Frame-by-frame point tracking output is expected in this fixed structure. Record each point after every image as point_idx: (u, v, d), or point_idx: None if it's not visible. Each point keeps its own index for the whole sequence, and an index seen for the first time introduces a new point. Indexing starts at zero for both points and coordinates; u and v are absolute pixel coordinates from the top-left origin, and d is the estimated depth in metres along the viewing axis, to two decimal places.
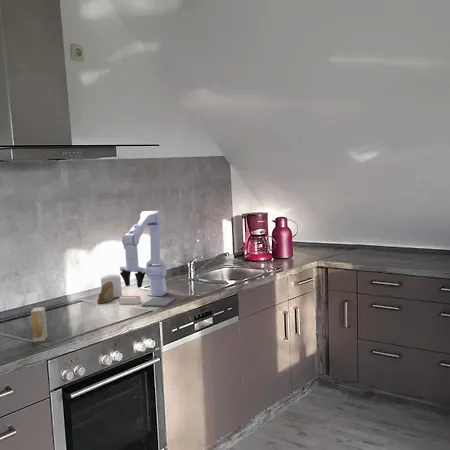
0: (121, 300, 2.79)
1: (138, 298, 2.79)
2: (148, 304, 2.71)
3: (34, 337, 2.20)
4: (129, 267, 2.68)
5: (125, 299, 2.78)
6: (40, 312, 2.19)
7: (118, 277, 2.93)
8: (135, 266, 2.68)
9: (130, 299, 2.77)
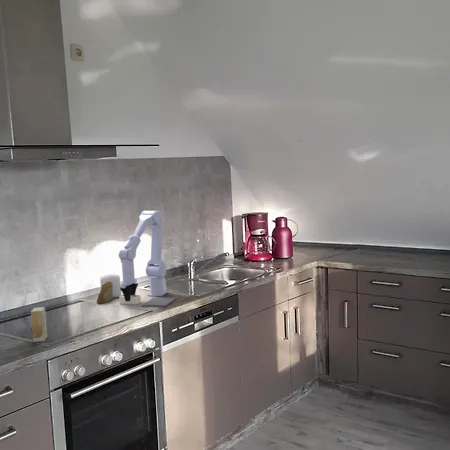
0: (120, 300, 2.79)
1: (138, 298, 2.79)
2: (148, 304, 2.71)
3: (34, 337, 2.20)
4: None
5: None
6: (40, 312, 2.19)
7: (117, 277, 2.93)
8: (125, 280, 2.77)
9: (130, 299, 2.77)
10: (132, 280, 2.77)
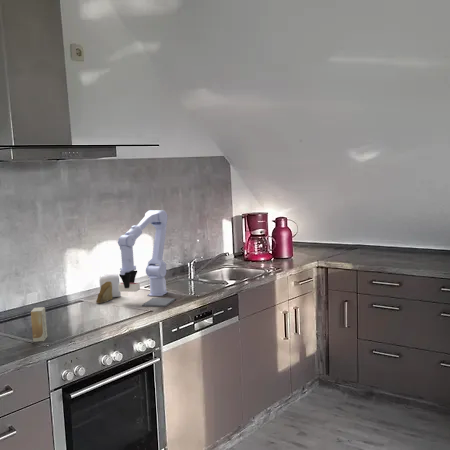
0: (120, 287, 2.78)
1: (137, 285, 2.78)
2: (148, 304, 2.71)
3: (34, 337, 2.20)
4: None
5: None
6: (40, 312, 2.19)
7: (117, 277, 2.94)
8: (124, 267, 2.76)
9: (129, 286, 2.77)
10: (131, 267, 2.77)
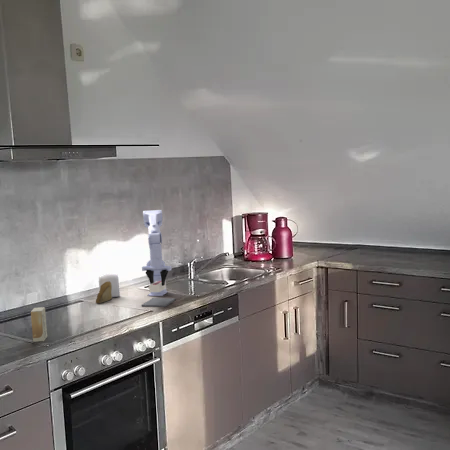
0: (159, 287, 2.71)
1: None
2: (148, 304, 2.71)
3: (34, 337, 2.20)
4: (155, 266, 2.72)
5: (161, 285, 2.73)
6: (40, 312, 2.19)
7: (116, 277, 2.94)
8: (161, 265, 2.73)
9: None
10: None
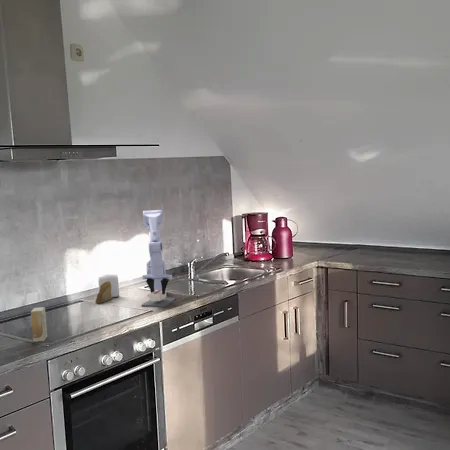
0: (160, 296, 2.71)
1: None
2: (148, 304, 2.71)
3: (34, 337, 2.20)
4: (156, 275, 2.72)
5: (161, 294, 2.74)
6: (40, 312, 2.19)
7: (116, 277, 2.94)
8: (161, 273, 2.74)
9: None
10: None
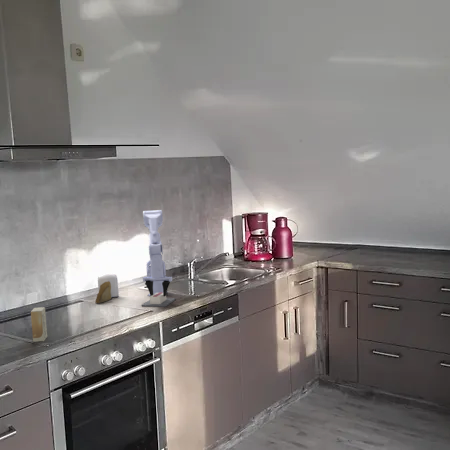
0: (160, 299, 2.72)
1: None
2: (148, 304, 2.71)
3: (34, 337, 2.20)
4: (156, 277, 2.72)
5: (162, 297, 2.74)
6: (40, 312, 2.19)
7: (115, 277, 2.94)
8: (161, 275, 2.74)
9: None
10: None
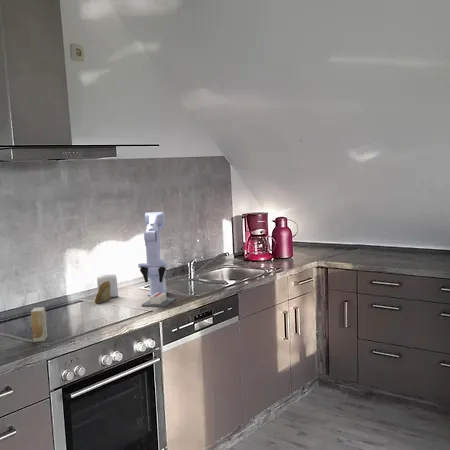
0: (160, 299, 2.72)
1: None
2: (148, 304, 2.71)
3: (34, 337, 2.20)
4: (151, 263, 2.78)
5: (162, 297, 2.74)
6: (40, 312, 2.19)
7: (114, 277, 2.94)
8: (157, 262, 2.79)
9: (164, 295, 2.76)
10: None
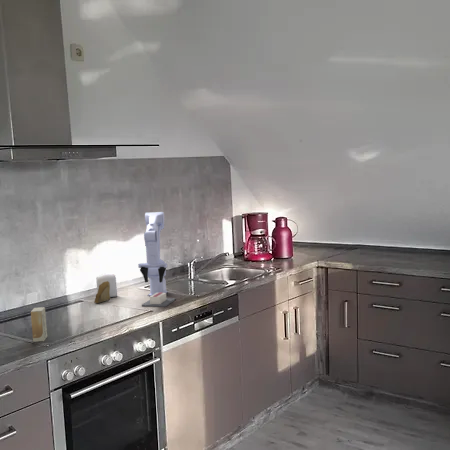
0: (160, 299, 2.72)
1: None
2: (148, 304, 2.71)
3: (34, 337, 2.20)
4: (151, 263, 2.78)
5: (162, 297, 2.74)
6: (40, 312, 2.19)
7: (114, 277, 2.94)
8: (157, 262, 2.79)
9: (164, 295, 2.76)
10: None
